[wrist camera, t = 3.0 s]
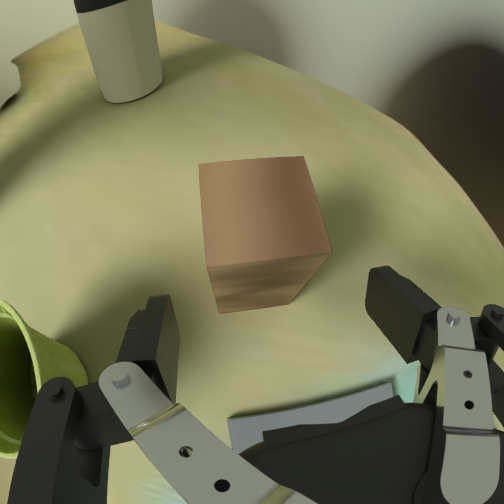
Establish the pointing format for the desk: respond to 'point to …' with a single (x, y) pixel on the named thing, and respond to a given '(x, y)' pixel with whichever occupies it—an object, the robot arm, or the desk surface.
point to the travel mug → (121, 46)
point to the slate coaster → (303, 415)
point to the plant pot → (27, 374)
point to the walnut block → (260, 231)
